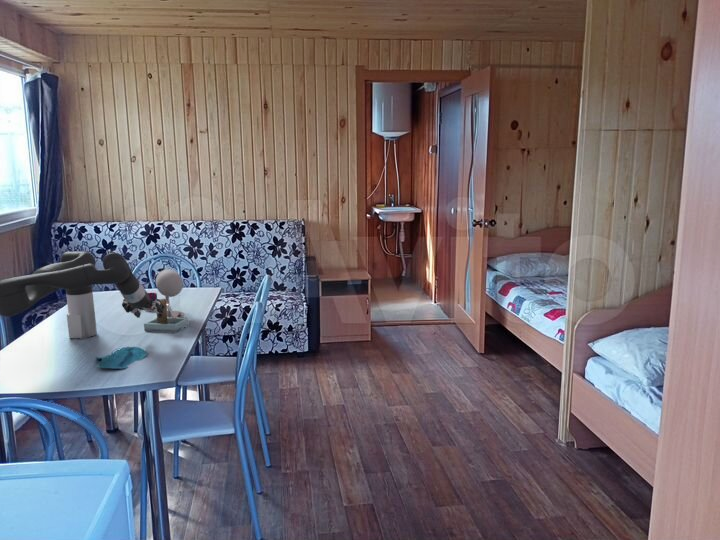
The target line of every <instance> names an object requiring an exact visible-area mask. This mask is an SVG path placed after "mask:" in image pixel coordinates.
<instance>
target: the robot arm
mask: <svg viewBox="0 0 720 540" xmlns="http://www.w3.org/2000/svg"><path fill="white" fill-rule="evenodd" d="M96 265H97V263H96V258H95V256H94V255H93V254H92V253H90V252H88V251H65V252H63V253H62V255H61V257H60V262H56V263H51V264H47V265H45V266H42V267H40V268H38V269H36V270H35V271H34V272H32V273H31V274H27V275H21V276H20V275H19V276H15V277H9V278H5V279H1V280H0V316H1V317H6V318H7V317H13V316H17V315H19V314H20V313H23V312H25V311H27V310H29V309H30V308H31V307H32V306H34V305H35V304H37V303H39V301H40V300H42V299H44V298H45V297H47V296H50V295H51V294H53V293H55V292H56V291H58V290H60V289H61V290H64V291H65V295H66V305H67V312H68V313H67V314H66V321H67V322H66V323H67V329H68V338H69V337H70V338H69V339H77V338H80V339H79V340H81V339H82V340H83V338H84V339H87V338H91V336H92V337H94V336H96V335H97V334H98V330H97V321H96V320H97V319H96V311H95V301H94V293H93V291H94V290H93V285H94V286H95V285H115V286H116V288H117V290H118V291H119V292H120V294H121V297H122V298H123V300H122V303H121V306H122V307H123V309H124V311H125V313H131V314H132V315H134V316H135V317H136V318H137V319H139V318H141V315H142V314H141V311H143V310H144V311H147V312H151V313H155V314H156V316H157V315H158V317H159V318H162V316H163V312H164V308H165V306H164V305H163V303H162V302H161V301H160V300H159V299H160V298H157V300H156V301H152V300H151V299H150V298H149V295H148V293H149V292H147V290H146V288H145V287H144V286H143V284H142V283H141V282H140V281H139V280H138V279H137V277H136V276H135V274H134V273H133V271H132V270H131V267H130V266H129V263H128V262H127V260H126V259H125V257H124V256H123V255H122V254H121V253H119V252H109V253H107V254H106V255H104V257H103V259H102V266H103V269H98V268H97V267H96ZM151 306H152V309H150V308H151ZM155 308H157V310H156V309H155Z"/></svg>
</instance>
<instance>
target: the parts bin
mask: <svg viewBox="0 0 720 540" xmlns="http://www.w3.org/2000/svg"><path fill="white" fill-rule="evenodd" d="M167 318H168V317H167ZM188 325H189V318H185V317H184V318H176V320H175V321H172V318H168V324H157V317H154V318H153V319H149V321H146V322H145V323H143V329H144V331H146V332H156V333H157V332H159V333H161V332H162V333H163V332H164V333H174V332H175V333H178V332H180V331H181V329H182V328H183V329H185V328H187V327H189V326H190V325H189V326H188ZM186 326H187V327H186ZM184 327H185V328H184ZM183 329H182V330H183ZM179 330H180V331H179Z"/></svg>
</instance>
